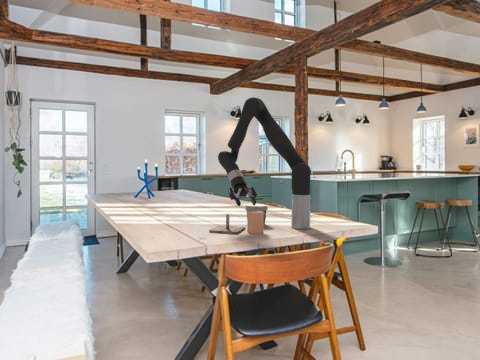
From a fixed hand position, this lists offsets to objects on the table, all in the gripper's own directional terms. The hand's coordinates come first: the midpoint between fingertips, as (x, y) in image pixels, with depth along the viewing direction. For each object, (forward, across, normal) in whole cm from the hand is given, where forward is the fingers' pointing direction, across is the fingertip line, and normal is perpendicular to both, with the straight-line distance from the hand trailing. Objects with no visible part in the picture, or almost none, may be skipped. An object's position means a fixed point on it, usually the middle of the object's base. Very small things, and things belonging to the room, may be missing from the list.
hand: (247, 204), depth 173 cm
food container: (+3, +10, +15) cm, 18 cm away
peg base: (+8, -10, +10) cm, 16 cm away
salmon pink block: (+14, 0, +3) cm, 15 cm away
